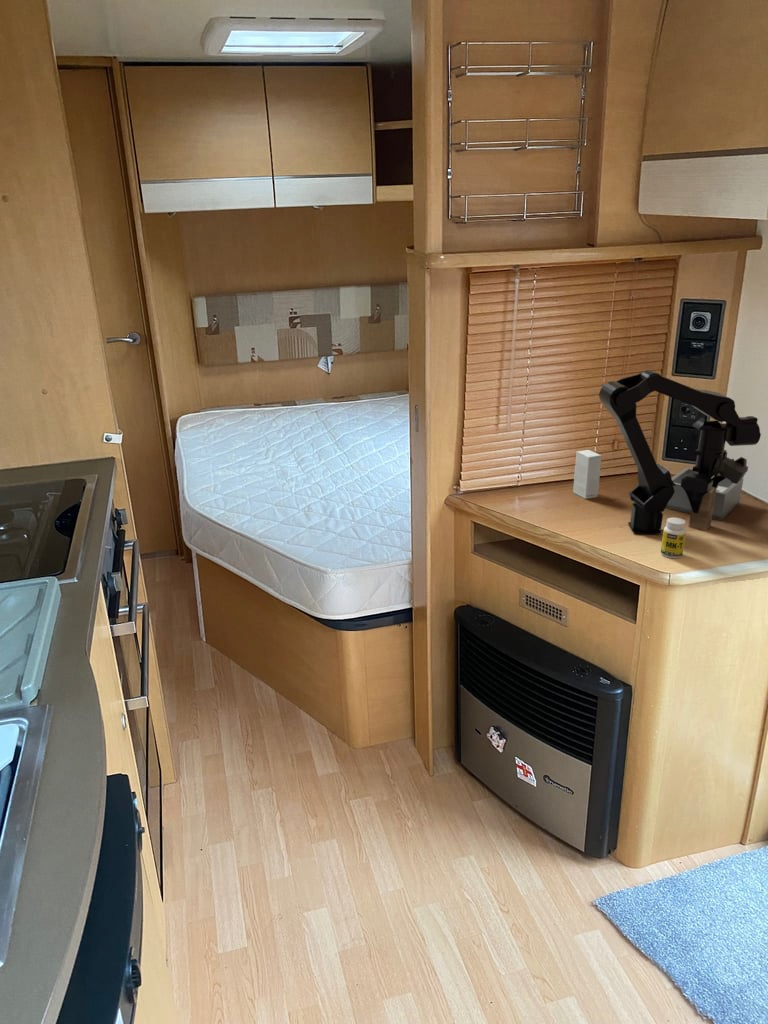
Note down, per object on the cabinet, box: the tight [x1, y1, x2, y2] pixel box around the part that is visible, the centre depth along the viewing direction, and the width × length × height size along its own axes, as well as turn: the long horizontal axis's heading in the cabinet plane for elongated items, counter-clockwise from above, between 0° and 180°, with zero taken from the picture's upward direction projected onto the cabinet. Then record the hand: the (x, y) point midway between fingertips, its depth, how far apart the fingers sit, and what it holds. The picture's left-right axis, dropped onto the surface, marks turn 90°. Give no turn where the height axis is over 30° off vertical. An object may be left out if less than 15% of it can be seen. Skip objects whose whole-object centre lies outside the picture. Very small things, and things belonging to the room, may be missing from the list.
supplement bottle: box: [660, 517, 687, 559], centre depth 176 cm, size 5×5×8 cm
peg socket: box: [665, 467, 745, 521], centre depth 204 cm, size 15×15×7 cm
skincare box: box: [572, 449, 602, 500], centre depth 212 cm, size 6×4×12 cm
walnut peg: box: [688, 487, 716, 531], centre depth 191 cm, size 4×4×10 cm
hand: (702, 507), depth 191 cm, fingers open, 9 cm apart
